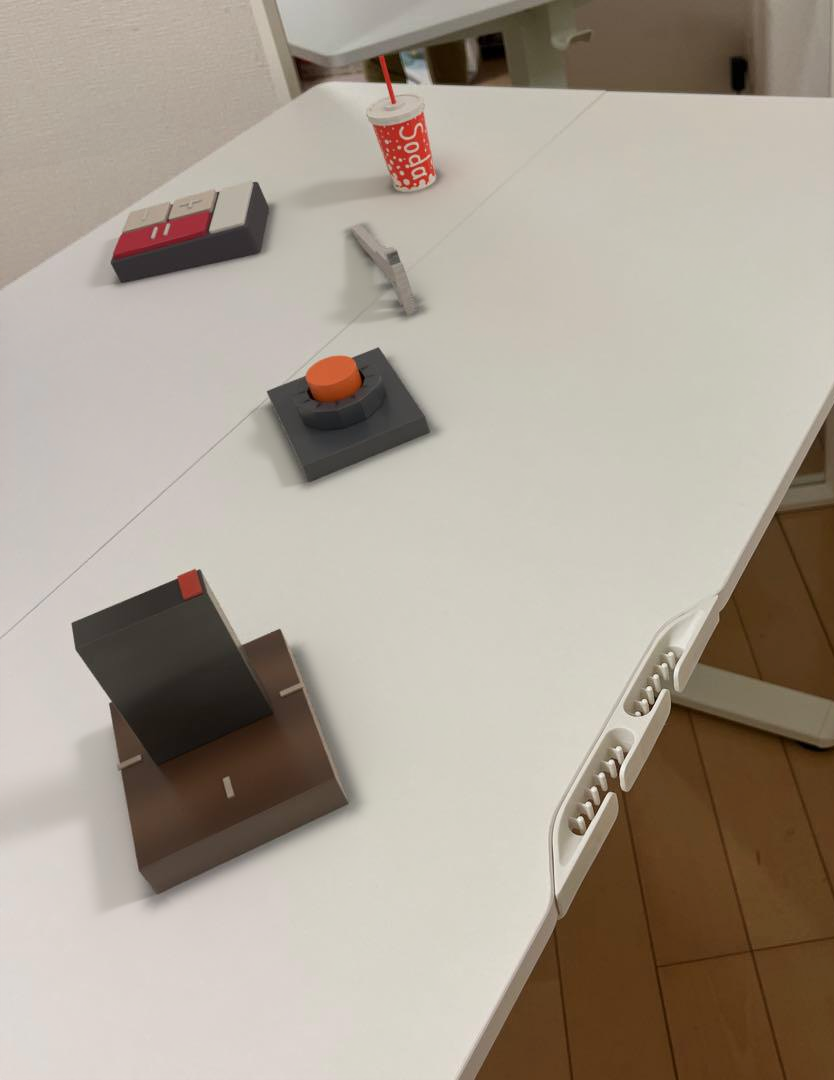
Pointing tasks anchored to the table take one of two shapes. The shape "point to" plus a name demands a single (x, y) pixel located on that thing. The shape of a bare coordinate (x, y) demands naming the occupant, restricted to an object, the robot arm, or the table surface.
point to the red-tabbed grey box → (172, 666)
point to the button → (333, 378)
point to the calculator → (192, 232)
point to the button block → (348, 418)
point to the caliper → (388, 267)
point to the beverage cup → (403, 137)
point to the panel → (230, 780)
